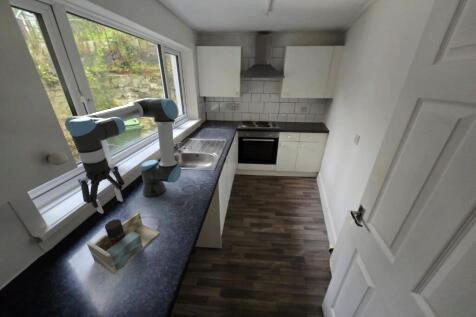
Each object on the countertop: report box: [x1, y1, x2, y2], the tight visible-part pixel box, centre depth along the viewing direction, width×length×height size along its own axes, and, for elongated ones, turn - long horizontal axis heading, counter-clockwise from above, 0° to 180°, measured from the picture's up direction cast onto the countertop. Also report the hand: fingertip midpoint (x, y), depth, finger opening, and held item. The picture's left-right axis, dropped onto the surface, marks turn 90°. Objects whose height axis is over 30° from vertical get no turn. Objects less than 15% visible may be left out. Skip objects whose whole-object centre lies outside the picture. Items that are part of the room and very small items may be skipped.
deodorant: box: [104, 218, 125, 246], centre depth 81 cm, size 6×6×15 cm
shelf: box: [86, 211, 161, 275], centre depth 84 cm, size 24×14×11 cm, turn 155°
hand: (110, 205), depth 78 cm, fingers open, 8 cm apart
